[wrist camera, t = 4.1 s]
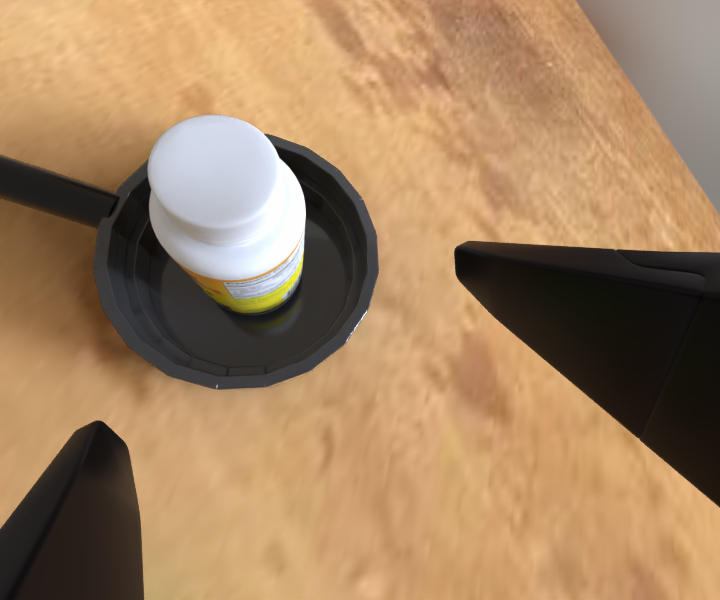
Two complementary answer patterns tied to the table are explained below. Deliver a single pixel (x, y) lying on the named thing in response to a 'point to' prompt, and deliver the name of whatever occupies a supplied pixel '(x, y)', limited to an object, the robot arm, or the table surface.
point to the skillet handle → (54, 193)
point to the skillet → (220, 326)
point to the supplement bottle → (228, 212)
